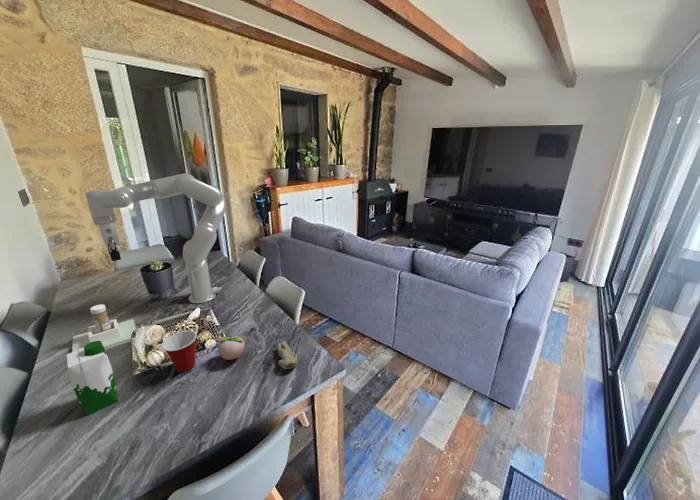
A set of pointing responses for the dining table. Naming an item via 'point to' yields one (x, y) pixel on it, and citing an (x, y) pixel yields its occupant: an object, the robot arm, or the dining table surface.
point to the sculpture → (286, 356)
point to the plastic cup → (181, 349)
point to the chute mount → (106, 335)
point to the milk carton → (92, 377)
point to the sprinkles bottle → (100, 318)
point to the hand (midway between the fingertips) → (115, 257)
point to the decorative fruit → (231, 347)
